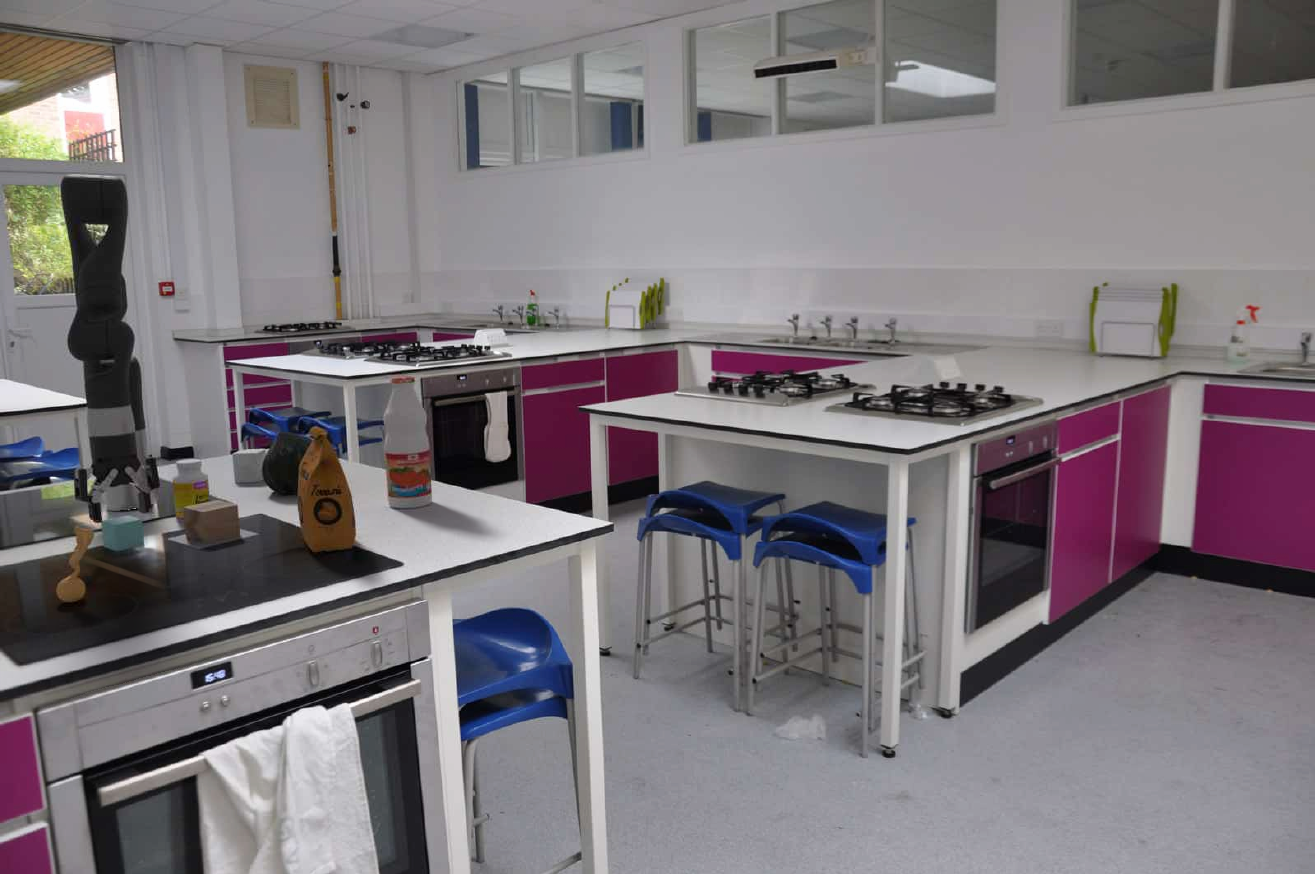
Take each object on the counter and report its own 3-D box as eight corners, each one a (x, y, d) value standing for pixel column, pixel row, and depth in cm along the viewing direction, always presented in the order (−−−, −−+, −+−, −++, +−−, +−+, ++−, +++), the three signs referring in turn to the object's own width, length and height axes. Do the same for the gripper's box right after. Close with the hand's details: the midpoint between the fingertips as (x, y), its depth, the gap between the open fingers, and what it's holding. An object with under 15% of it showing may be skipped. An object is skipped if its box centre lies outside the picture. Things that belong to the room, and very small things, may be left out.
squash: (350, 466, 236) (316, 416, 239) (297, 481, 224) (262, 428, 227) (324, 500, 244) (292, 451, 247) (271, 516, 231) (238, 464, 234)
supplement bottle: (198, 526, 205) (192, 464, 203) (169, 525, 207) (163, 463, 204) (218, 518, 212) (213, 458, 210) (190, 517, 213) (184, 457, 211)
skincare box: (258, 482, 246) (256, 453, 245) (234, 483, 247) (231, 453, 245) (268, 477, 252) (266, 448, 251) (244, 477, 252) (241, 448, 251)
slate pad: (167, 543, 193) (166, 538, 192) (226, 530, 202) (225, 525, 202) (200, 553, 186) (199, 548, 185) (259, 539, 195) (259, 534, 195)
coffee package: (302, 557, 183) (292, 437, 179) (300, 539, 194) (291, 426, 190) (359, 550, 186) (351, 432, 182) (354, 534, 197) (346, 423, 194)
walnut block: (186, 537, 193) (183, 507, 192) (220, 529, 198) (217, 500, 197) (205, 543, 189) (202, 512, 188) (240, 535, 194) (237, 504, 193)
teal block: (104, 552, 188) (101, 521, 187) (131, 546, 192) (128, 515, 191) (117, 556, 185) (114, 525, 184) (144, 550, 189) (141, 519, 188)
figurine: (57, 596, 163) (49, 524, 161) (100, 590, 166) (92, 519, 164) (58, 611, 156) (48, 535, 153) (102, 604, 159) (94, 530, 156)
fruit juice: (428, 497, 227) (420, 373, 223) (436, 506, 219) (428, 377, 214) (385, 502, 224) (377, 376, 219) (391, 511, 215) (383, 380, 210)
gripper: (140, 424, 192) (149, 507, 195) (61, 435, 181) (71, 523, 184) (160, 427, 188) (169, 512, 190) (80, 438, 177) (90, 528, 179)
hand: (121, 517), depth 187 cm, fingers open, 8 cm apart
